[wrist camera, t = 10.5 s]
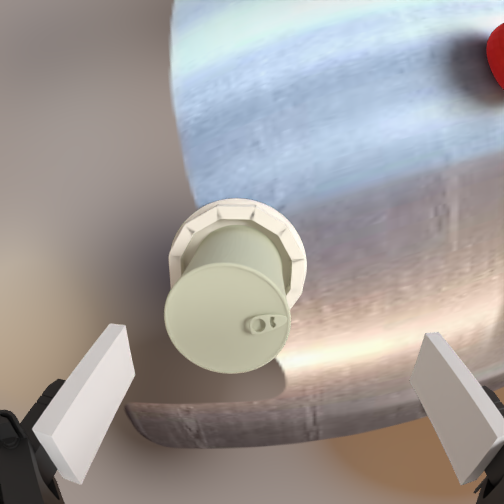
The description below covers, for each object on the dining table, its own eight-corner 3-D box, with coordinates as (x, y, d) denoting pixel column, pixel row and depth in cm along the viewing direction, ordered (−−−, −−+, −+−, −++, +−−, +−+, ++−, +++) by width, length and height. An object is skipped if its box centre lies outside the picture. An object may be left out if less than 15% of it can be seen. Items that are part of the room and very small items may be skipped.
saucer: (167, 197, 32) (161, 201, 30) (309, 199, 32) (313, 203, 30) (175, 322, 36) (170, 333, 34) (300, 326, 36) (302, 338, 34)
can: (285, 304, 34) (295, 373, 23) (201, 311, 35) (176, 380, 24) (278, 219, 32) (287, 257, 20) (186, 229, 32) (147, 271, 21)
